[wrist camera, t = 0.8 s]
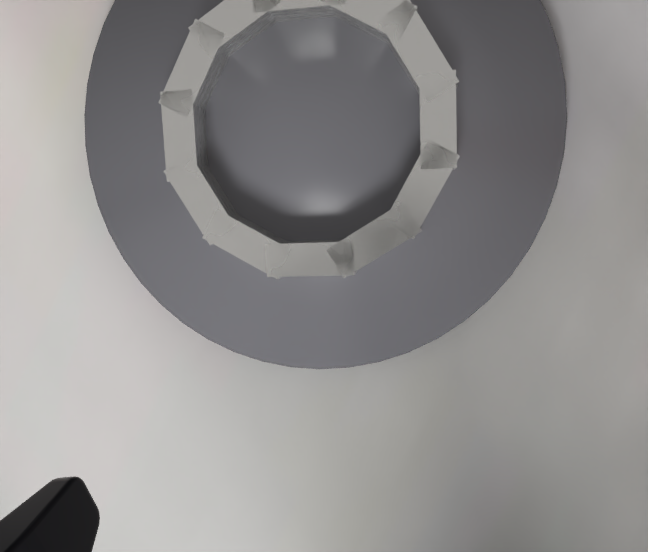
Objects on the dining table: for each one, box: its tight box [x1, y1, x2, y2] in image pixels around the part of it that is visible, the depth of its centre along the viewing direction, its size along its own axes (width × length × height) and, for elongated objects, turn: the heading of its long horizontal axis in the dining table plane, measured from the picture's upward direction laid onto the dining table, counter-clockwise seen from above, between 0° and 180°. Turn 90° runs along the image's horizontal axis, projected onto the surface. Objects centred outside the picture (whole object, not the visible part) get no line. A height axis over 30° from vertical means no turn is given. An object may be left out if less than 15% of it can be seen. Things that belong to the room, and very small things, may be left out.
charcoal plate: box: [85, 0, 567, 369], centre depth 22 cm, size 18×18×1 cm
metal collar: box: [159, 0, 460, 279], centre depth 21 cm, size 11×11×1 cm
